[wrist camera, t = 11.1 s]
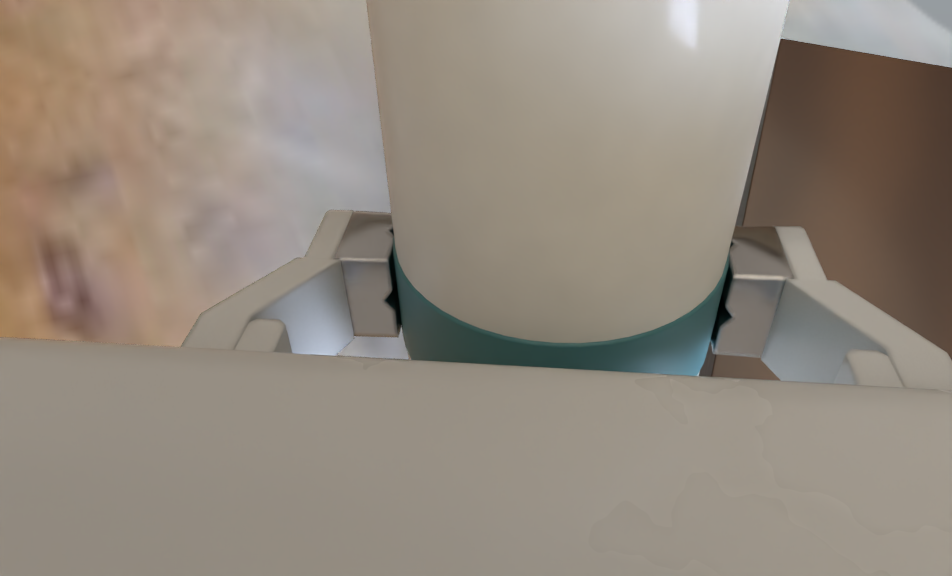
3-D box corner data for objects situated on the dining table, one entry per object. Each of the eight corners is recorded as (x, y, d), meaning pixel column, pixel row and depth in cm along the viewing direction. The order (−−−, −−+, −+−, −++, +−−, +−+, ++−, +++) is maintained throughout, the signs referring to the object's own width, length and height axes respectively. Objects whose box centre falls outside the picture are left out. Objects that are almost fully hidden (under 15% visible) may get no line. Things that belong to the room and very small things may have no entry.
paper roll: (650, 561, 19) (899, 1021, 6) (432, 544, 19) (203, 926, 6) (665, 72, 20) (896, -468, 7) (460, 69, 20) (318, -440, 7)
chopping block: (651, 554, 29) (668, 584, 25) (750, 80, 30) (780, 37, 26) (994, 643, 27) (1069, 691, 23) (1080, 138, 29) (1164, 103, 25)
